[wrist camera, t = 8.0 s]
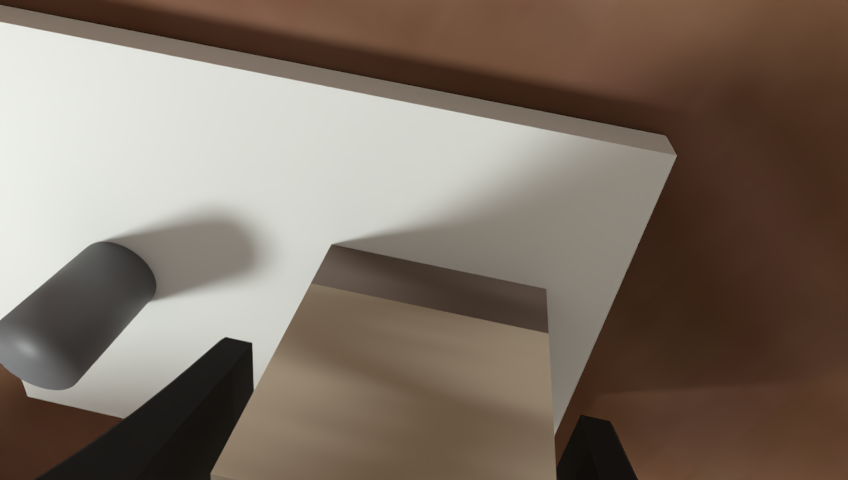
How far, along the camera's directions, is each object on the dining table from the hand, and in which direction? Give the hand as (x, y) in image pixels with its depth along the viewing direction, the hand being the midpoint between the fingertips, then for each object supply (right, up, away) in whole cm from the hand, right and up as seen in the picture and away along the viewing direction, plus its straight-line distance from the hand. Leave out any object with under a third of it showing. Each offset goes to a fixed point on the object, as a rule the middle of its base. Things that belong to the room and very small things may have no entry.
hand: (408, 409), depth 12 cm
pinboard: (-3, +3, +3) cm, 5 cm away
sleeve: (0, +1, +2) cm, 2 cm away
